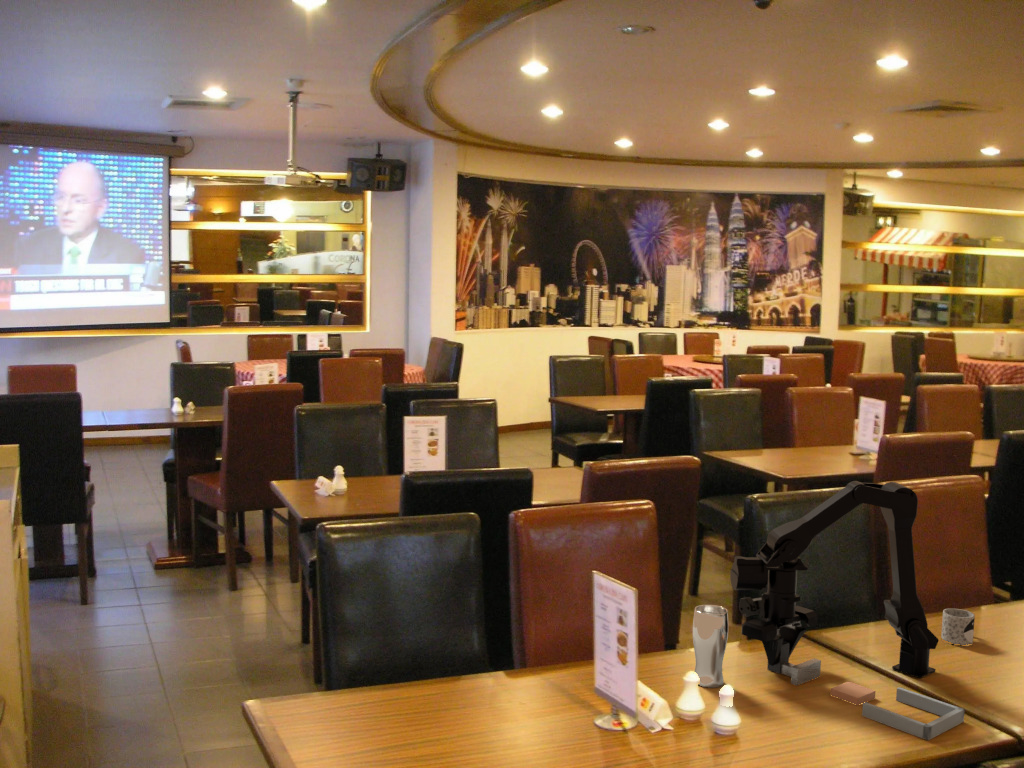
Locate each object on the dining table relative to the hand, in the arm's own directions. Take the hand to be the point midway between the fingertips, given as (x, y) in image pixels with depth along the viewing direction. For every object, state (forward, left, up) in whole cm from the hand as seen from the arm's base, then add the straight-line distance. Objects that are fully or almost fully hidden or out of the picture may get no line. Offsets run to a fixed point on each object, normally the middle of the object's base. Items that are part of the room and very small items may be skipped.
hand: (778, 663), depth 215 cm
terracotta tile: (0, +17, -2) cm, 18 cm away
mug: (-50, +13, -2) cm, 52 cm away
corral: (0, +30, -2) cm, 30 cm away
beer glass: (+17, -5, -2) cm, 18 cm away
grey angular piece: (0, +3, -1) cm, 3 cm away
